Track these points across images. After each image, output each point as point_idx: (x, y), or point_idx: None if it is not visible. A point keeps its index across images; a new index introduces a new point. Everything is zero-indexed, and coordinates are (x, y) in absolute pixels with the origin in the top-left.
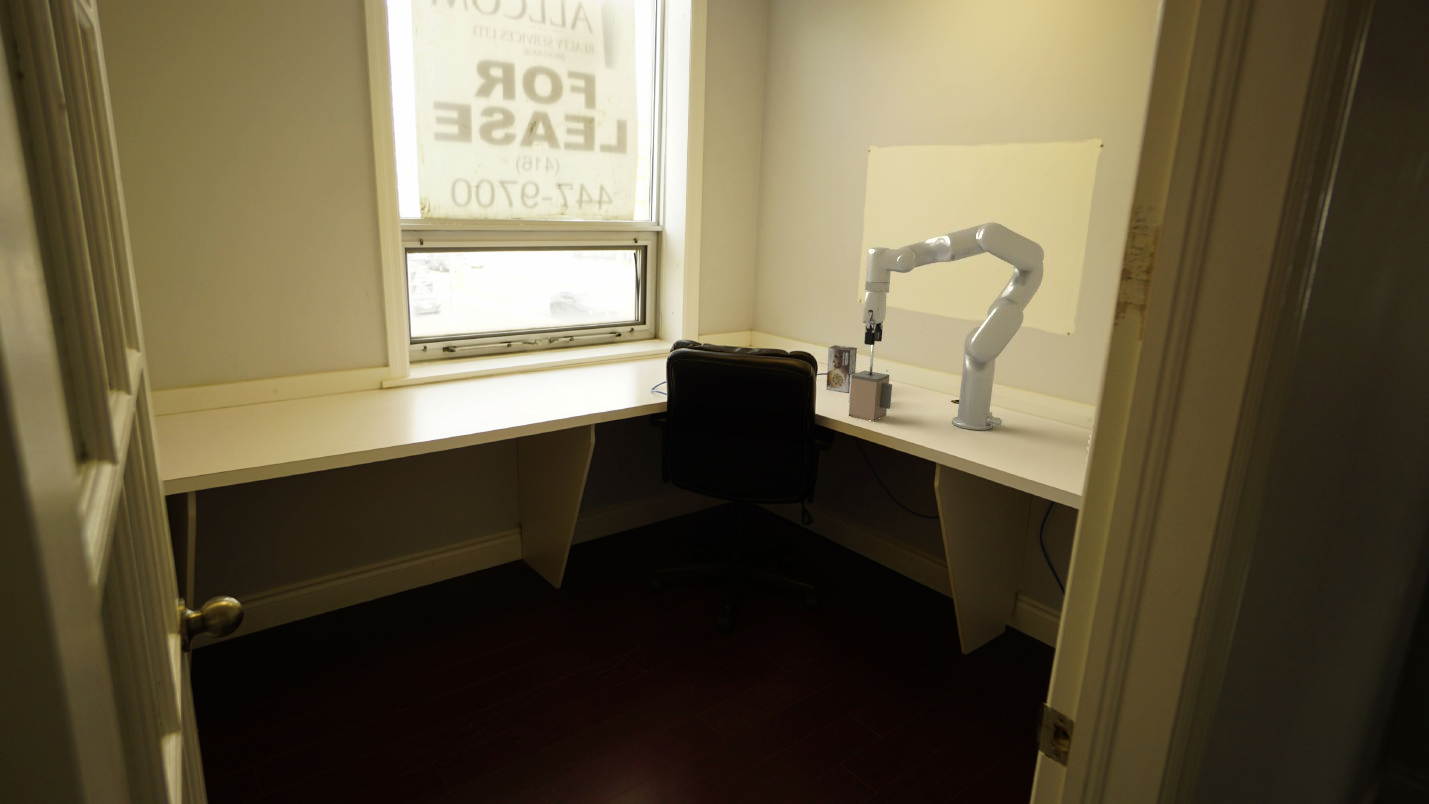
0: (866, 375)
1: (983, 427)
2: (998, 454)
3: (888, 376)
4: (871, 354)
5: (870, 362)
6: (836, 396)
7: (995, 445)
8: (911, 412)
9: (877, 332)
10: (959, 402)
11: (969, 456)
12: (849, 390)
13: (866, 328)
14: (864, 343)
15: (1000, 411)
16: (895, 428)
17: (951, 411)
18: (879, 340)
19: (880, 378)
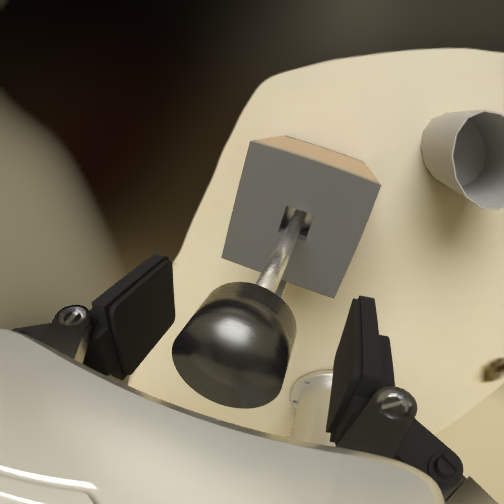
0: (272, 207)
1: (296, 409)
2: (181, 398)
3: (325, 292)
4: (267, 263)
5: (279, 241)
6: (488, 76)
7: (220, 404)
8: (397, 293)
9: (239, 397)
10: (319, 411)
11: (150, 366)
12: (458, 112)
13: (29, 331)
14: (154, 254)
15: (433, 424)
16: (231, 266)
17: (424, 366)
18: (335, 355)
19: (254, 268)
